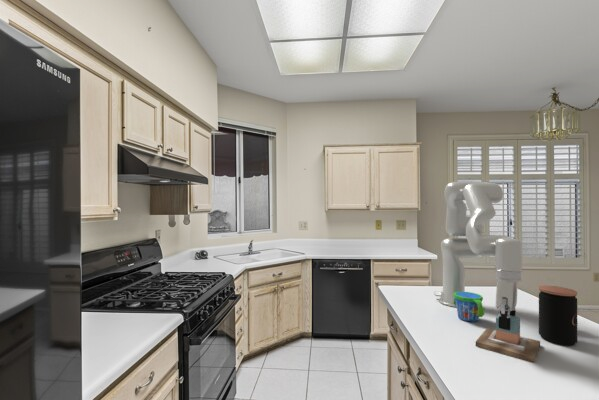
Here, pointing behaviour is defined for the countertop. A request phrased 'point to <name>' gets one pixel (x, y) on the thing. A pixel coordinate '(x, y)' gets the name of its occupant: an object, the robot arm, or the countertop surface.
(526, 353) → the walnut board
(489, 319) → the countertop surface
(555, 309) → the coffee jar
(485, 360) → the countertop surface
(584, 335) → the countertop surface
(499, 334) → the teal and orange block
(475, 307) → the snack cup
